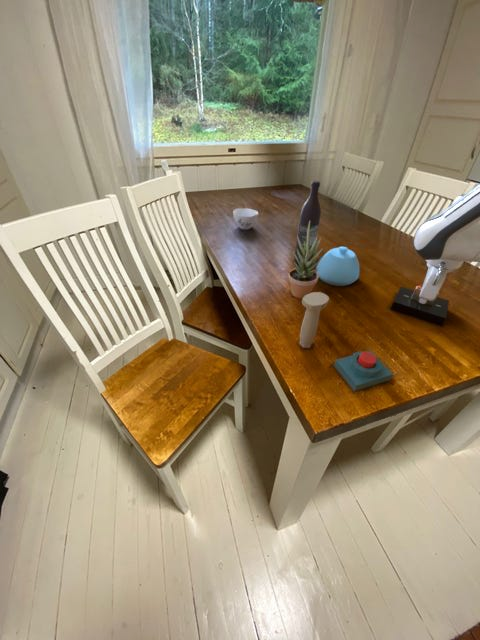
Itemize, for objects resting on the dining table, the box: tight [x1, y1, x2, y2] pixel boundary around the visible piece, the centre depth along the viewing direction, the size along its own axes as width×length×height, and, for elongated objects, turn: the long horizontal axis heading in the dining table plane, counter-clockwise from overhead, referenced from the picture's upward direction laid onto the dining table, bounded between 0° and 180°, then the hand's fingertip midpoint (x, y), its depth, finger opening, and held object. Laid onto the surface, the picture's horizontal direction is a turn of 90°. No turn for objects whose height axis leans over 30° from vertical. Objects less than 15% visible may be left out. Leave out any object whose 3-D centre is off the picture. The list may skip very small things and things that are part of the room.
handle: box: [299, 291, 330, 349], centre depth 68 cm, size 5×6×15 cm
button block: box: [333, 350, 394, 392], centre depth 64 cm, size 10×8×4 cm
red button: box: [358, 351, 377, 368], centre depth 63 cm, size 4×4×2 cm
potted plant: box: [288, 221, 325, 299], centre depth 84 cm, size 10×10×25 cm
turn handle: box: [411, 285, 440, 305], centre depth 83 cm, size 6×2×4 cm, turn 55°
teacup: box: [232, 207, 259, 230], centre depth 138 cm, size 15×12×8 cm
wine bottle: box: [293, 180, 322, 267], centre depth 100 cm, size 7×7×30 cm
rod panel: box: [390, 286, 450, 327], centre depth 85 cm, size 14×11×3 cm
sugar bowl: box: [315, 246, 361, 287], centre depth 97 cm, size 15×15×12 cm
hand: (423, 298), depth 83 cm, fingers open, 4 cm apart
